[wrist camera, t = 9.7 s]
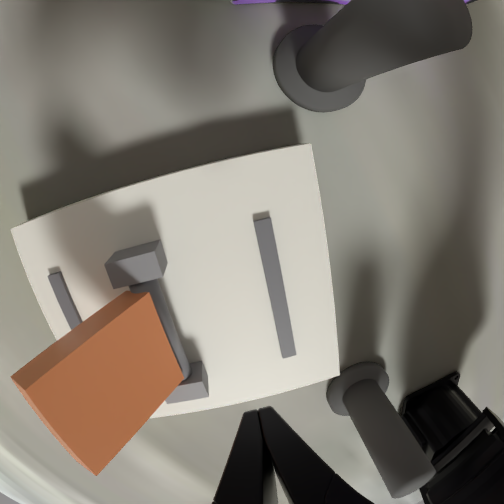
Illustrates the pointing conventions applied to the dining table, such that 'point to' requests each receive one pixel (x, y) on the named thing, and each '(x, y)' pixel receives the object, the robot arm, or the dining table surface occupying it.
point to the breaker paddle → (107, 375)
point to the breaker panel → (204, 271)
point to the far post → (380, 427)
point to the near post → (365, 47)
